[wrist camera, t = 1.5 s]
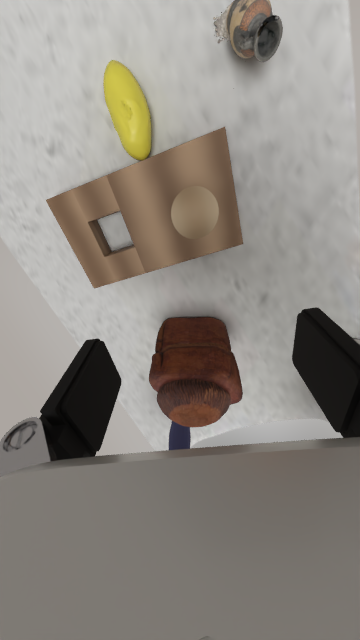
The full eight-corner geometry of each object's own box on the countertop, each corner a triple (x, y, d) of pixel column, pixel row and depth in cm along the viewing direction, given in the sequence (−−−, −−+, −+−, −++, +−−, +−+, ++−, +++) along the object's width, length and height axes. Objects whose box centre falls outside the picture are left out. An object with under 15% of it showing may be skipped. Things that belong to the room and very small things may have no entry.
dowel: (204, 184, 24) (212, 178, 15) (211, 217, 26) (223, 231, 17) (174, 195, 25) (164, 196, 15) (183, 226, 27) (179, 245, 17)
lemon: (128, 167, 26) (119, 163, 23) (102, 76, 22) (87, 56, 19) (160, 157, 26) (156, 152, 22) (140, 62, 22) (131, 39, 18)
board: (221, 133, 24) (224, 126, 22) (238, 239, 30) (243, 243, 27) (59, 199, 28) (45, 200, 26) (101, 281, 34) (94, 288, 32)
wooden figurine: (163, 343, 40) (145, 437, 25) (160, 314, 37) (138, 401, 21) (226, 343, 39) (249, 440, 24) (229, 313, 36) (258, 403, 21)
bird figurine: (280, 66, 21) (302, 32, 16) (228, 99, 23) (233, 77, 18) (269, -15, 19) (291, -84, 14) (211, 28, 21) (212, -20, 16)
